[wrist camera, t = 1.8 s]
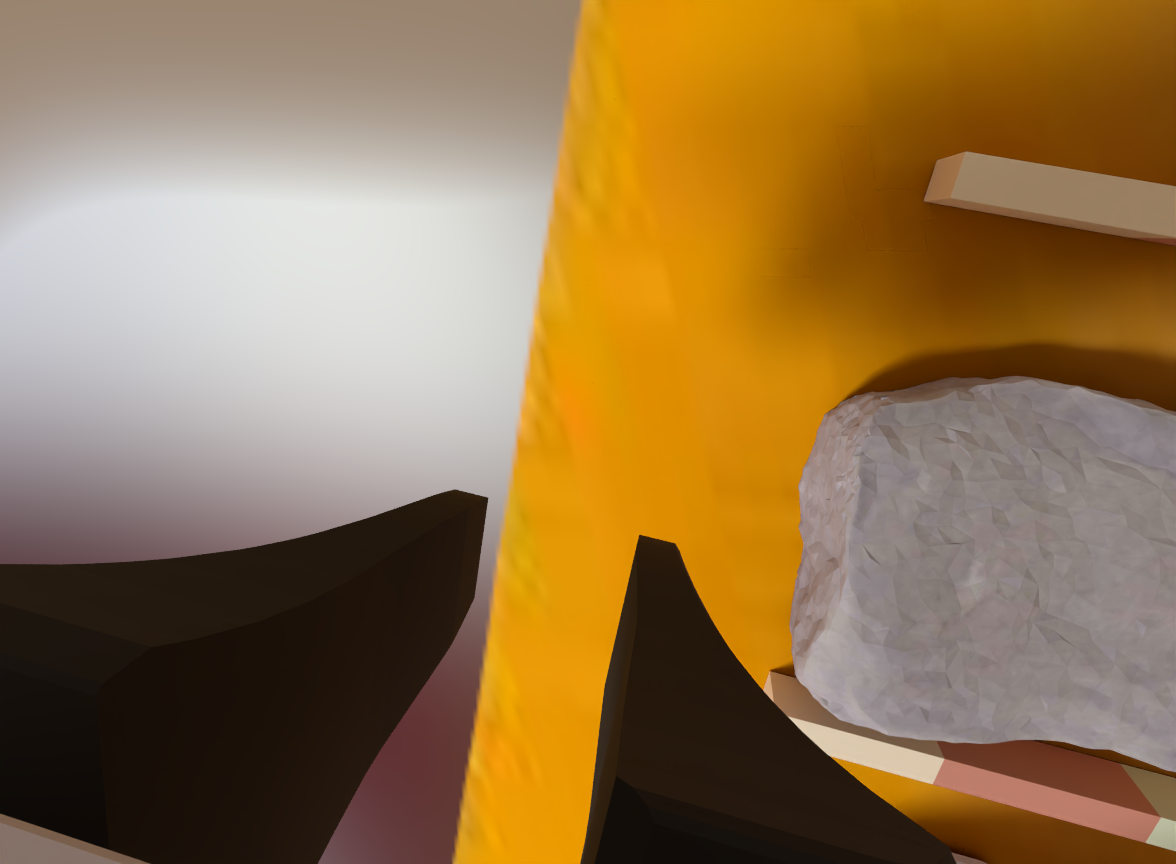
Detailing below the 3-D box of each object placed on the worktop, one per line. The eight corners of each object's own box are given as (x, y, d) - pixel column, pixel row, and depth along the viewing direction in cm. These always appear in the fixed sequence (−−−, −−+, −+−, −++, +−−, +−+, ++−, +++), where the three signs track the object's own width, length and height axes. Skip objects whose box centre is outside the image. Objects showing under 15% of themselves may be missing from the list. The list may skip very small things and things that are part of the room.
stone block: (799, 366, 21) (774, 668, 22) (835, 366, 16) (801, 753, 17) (1217, 386, 19) (1169, 710, 20) (1396, 392, 14) (1321, 816, 15)
